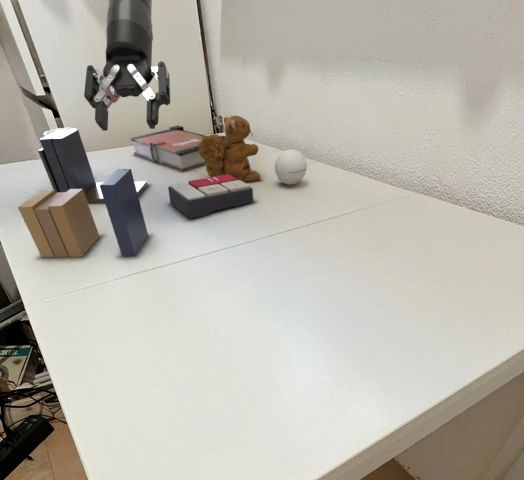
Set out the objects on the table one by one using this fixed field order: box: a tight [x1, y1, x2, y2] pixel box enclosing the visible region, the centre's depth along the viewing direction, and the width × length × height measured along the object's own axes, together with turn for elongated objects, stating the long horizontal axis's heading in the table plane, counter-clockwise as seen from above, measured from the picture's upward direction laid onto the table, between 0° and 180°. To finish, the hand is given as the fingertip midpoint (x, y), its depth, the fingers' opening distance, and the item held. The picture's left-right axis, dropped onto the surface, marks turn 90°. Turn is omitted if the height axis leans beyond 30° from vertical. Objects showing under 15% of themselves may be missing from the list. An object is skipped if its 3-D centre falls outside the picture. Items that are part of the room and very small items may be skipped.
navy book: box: [99, 168, 149, 257], centre depth 65 cm, size 2×8×12 cm, turn 176°
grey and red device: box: [167, 174, 254, 220], centre depth 82 cm, size 11×4×15 cm
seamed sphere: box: [274, 148, 315, 186], centre depth 88 cm, size 10×7×7 cm
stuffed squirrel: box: [197, 115, 261, 183], centre depth 91 cm, size 10×14×13 cm
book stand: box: [37, 129, 149, 204], centre depth 87 cm, size 19×11×13 cm, turn 86°
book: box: [129, 125, 226, 173], centre depth 111 cm, size 26×18×5 cm
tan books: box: [17, 189, 101, 258], centre depth 67 cm, size 8×8×9 cm
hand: (126, 126), depth 65 cm, fingers open, 8 cm apart
